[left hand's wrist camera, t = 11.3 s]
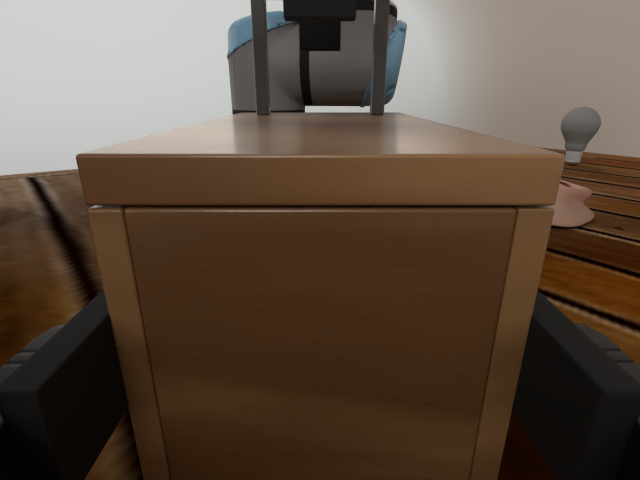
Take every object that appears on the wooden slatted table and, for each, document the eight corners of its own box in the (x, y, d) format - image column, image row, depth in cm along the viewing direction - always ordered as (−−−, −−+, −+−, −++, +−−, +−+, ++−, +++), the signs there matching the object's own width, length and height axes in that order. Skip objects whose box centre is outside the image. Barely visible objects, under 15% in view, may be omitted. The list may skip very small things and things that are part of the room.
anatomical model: (615, 191, 36) (480, 180, 41) (604, 232, 38) (475, 217, 42) (590, 167, 48) (487, 161, 52) (583, 200, 49) (483, 191, 53)
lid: (241, 130, 25) (231, -28, 22) (398, 130, 25) (409, -28, 22) (84, 206, 8) (-45, -403, 5) (556, 206, 8) (686, -403, 5)
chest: (249, 287, 28) (238, 132, 24) (391, 287, 28) (401, 132, 24) (155, 543, 12) (84, 208, 8) (484, 543, 12) (556, 209, 8)
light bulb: (561, 166, 71) (573, 107, 68) (548, 160, 77) (558, 106, 73) (597, 167, 71) (611, 107, 67) (581, 161, 76) (594, 106, 73)
